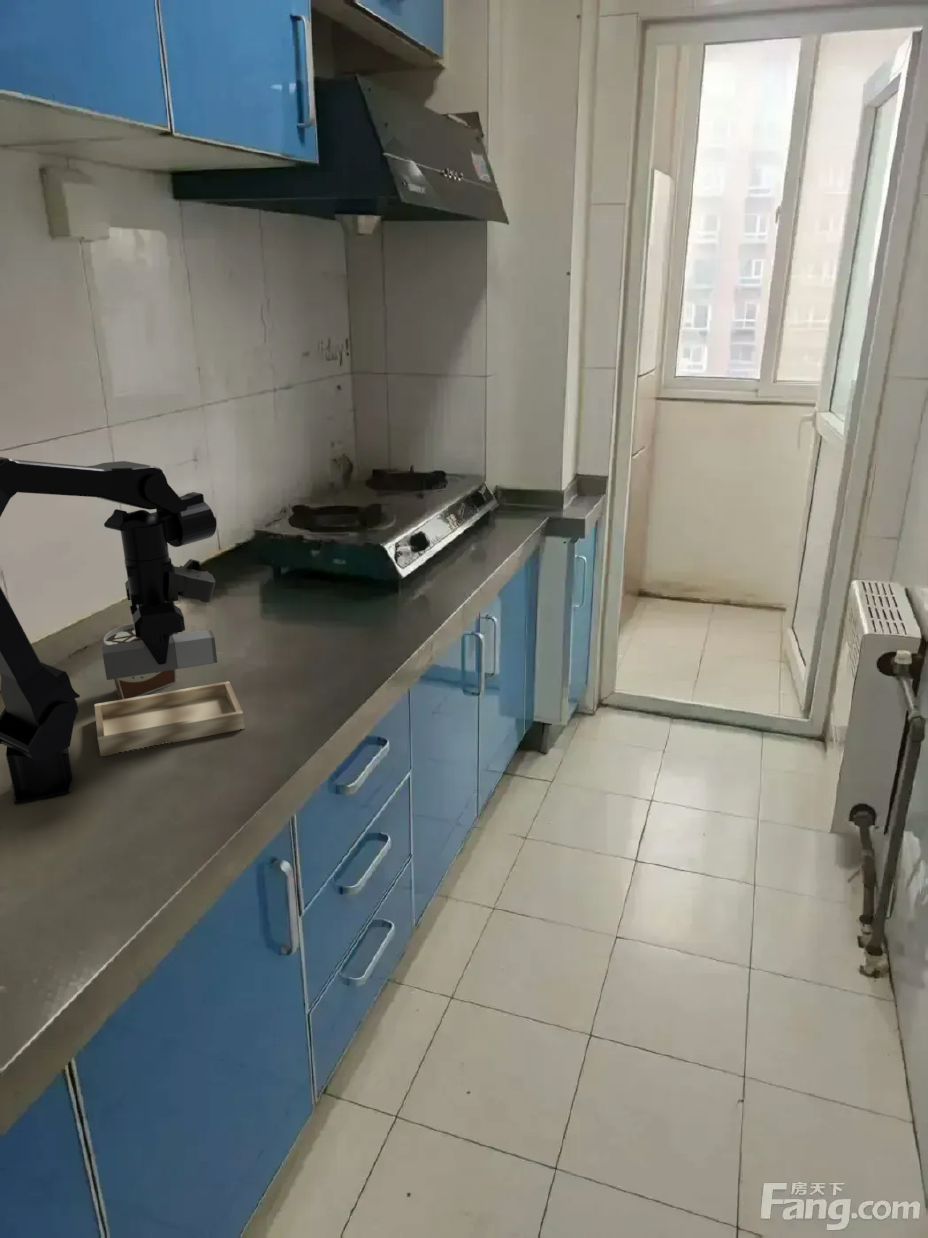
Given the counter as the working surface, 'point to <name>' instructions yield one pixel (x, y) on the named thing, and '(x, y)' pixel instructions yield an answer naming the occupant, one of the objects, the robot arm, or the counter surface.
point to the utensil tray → (167, 717)
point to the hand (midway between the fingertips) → (160, 659)
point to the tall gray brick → (140, 661)
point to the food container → (139, 683)
